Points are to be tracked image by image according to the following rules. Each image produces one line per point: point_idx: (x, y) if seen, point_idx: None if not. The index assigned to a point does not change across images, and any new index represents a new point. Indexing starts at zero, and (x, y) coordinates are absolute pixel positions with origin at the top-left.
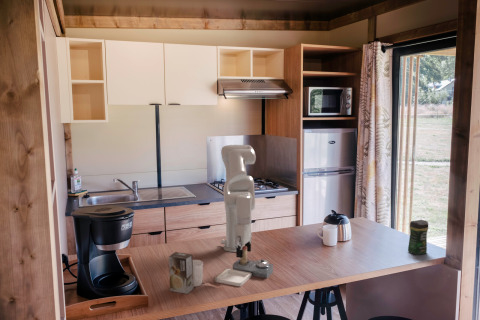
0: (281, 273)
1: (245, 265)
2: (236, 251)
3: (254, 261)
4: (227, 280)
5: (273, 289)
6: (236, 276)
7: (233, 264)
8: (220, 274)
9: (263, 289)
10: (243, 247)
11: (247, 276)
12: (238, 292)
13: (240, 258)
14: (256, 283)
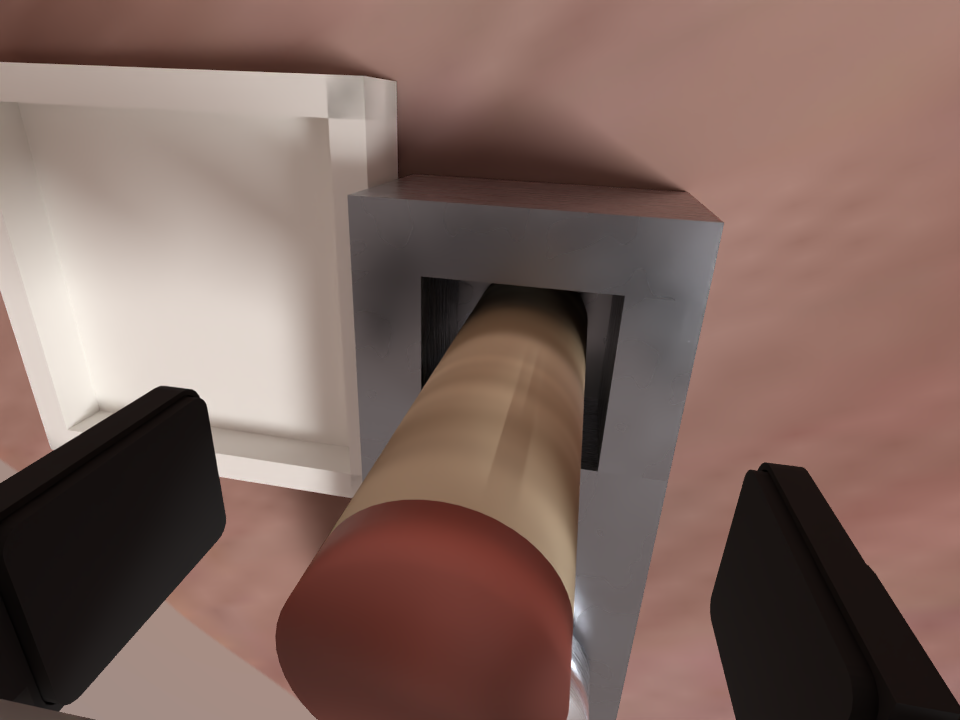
0: (652, 711)
1: None
2: (27, 476)
3: (634, 542)
4: (3, 277)
5: (267, 669)
6: (281, 297)
7: (352, 210)
8: (80, 74)
9: (221, 602)
10: (346, 683)
11: (251, 476)
12: (35, 420)
13: (435, 370)
14: (297, 530)
